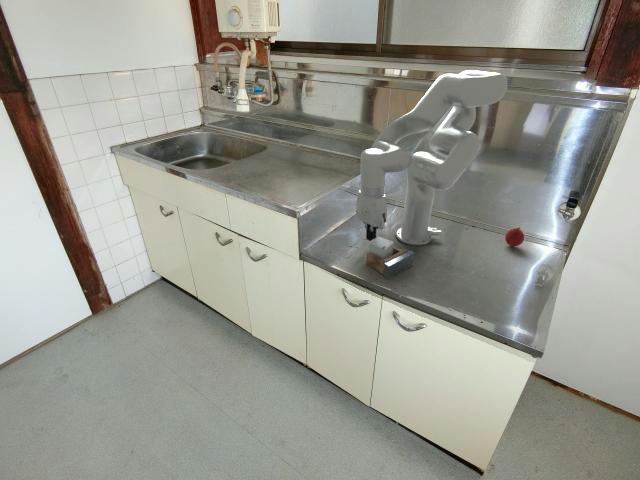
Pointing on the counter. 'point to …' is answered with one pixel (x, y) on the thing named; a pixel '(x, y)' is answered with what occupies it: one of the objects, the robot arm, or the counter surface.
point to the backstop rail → (398, 264)
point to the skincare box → (381, 248)
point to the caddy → (379, 263)
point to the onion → (514, 237)
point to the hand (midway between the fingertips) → (371, 238)
